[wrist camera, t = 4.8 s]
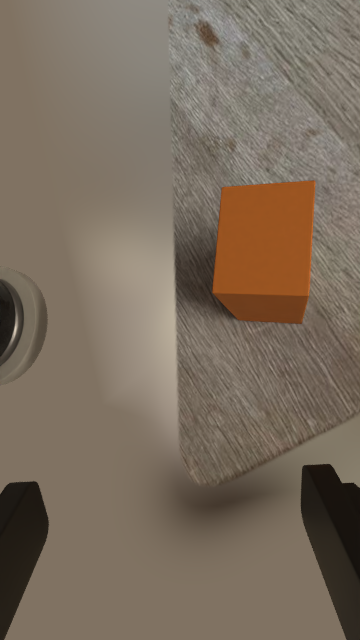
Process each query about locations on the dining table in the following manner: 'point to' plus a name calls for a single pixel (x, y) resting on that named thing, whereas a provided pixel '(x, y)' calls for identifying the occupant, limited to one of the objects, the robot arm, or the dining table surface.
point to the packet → (265, 251)
